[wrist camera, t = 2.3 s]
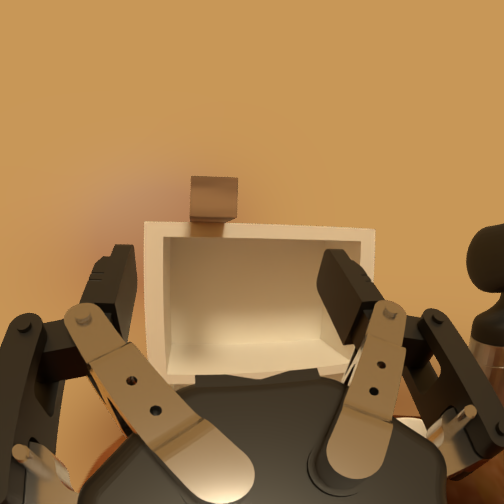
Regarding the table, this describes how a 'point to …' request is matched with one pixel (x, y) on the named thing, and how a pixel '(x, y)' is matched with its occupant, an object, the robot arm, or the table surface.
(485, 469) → the table surface
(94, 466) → the table surface
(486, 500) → the table surface
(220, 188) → the walnut bar
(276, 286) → the off-white shelf
